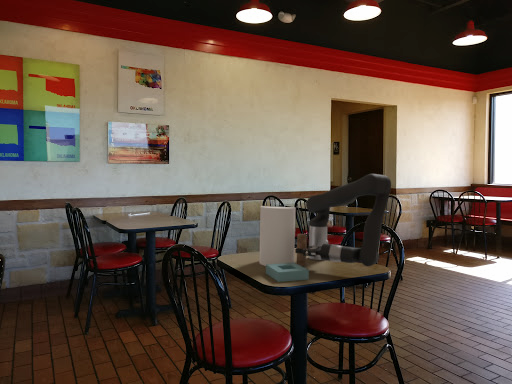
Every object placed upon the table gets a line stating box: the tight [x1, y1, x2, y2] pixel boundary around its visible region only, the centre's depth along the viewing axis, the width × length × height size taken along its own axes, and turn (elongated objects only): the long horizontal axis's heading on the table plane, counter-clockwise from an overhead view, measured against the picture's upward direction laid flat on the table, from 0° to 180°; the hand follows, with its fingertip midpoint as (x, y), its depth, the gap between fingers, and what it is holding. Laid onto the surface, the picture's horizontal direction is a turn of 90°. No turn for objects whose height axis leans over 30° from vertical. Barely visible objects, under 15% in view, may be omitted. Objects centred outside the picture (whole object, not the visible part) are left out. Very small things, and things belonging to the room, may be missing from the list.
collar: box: [265, 262, 310, 283], centre depth 171 cm, size 14×14×4 cm
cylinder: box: [258, 205, 297, 267], centre depth 195 cm, size 17×17×28 cm
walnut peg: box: [296, 233, 308, 269], centre depth 186 cm, size 4×4×16 cm
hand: (299, 248), depth 186 cm, fingers open, 8 cm apart
